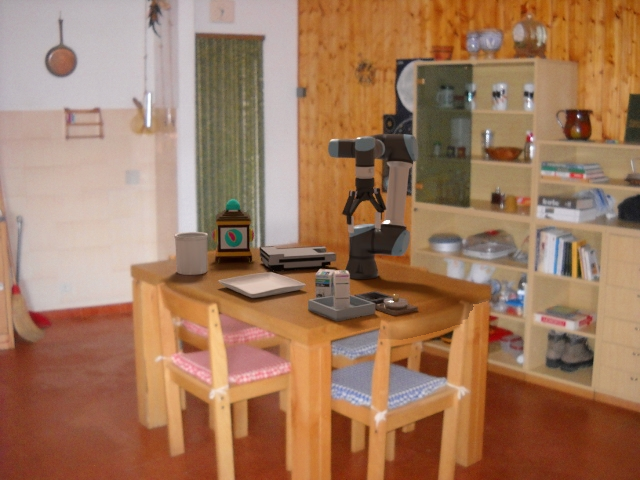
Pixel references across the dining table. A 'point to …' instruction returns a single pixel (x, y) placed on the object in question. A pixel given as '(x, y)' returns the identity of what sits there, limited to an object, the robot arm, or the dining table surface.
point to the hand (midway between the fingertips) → (364, 230)
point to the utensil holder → (191, 253)
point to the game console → (296, 258)
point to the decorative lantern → (233, 232)
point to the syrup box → (341, 289)
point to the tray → (326, 309)
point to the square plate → (262, 284)
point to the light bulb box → (324, 283)
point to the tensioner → (388, 303)
